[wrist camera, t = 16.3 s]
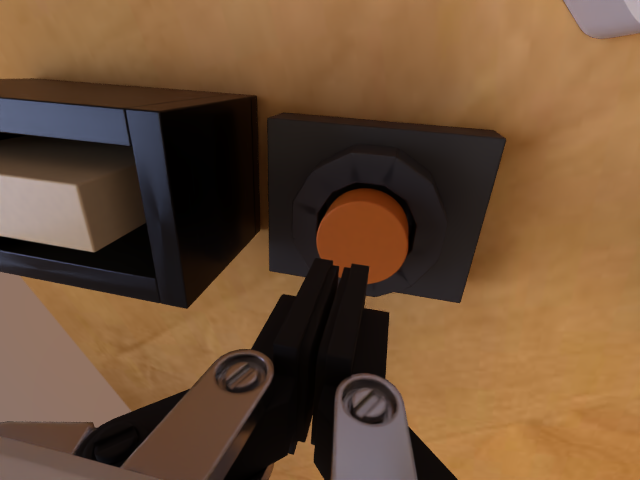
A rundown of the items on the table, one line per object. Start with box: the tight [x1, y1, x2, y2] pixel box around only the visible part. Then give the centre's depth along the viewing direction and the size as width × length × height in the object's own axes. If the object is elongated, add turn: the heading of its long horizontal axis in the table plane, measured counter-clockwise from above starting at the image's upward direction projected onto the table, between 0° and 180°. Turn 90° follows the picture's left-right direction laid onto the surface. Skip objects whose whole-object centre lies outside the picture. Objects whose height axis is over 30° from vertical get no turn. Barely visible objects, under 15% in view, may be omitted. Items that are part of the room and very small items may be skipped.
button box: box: [267, 113, 506, 303], centre depth 17 cm, size 10×8×4 cm
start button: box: [316, 188, 408, 284], centre depth 14 cm, size 4×4×2 cm
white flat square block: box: [0, 135, 146, 252], centre depth 16 cm, size 2×8×8 cm, turn 87°
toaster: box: [0, 78, 260, 309], centre depth 17 cm, size 13×7×8 cm, turn 87°
